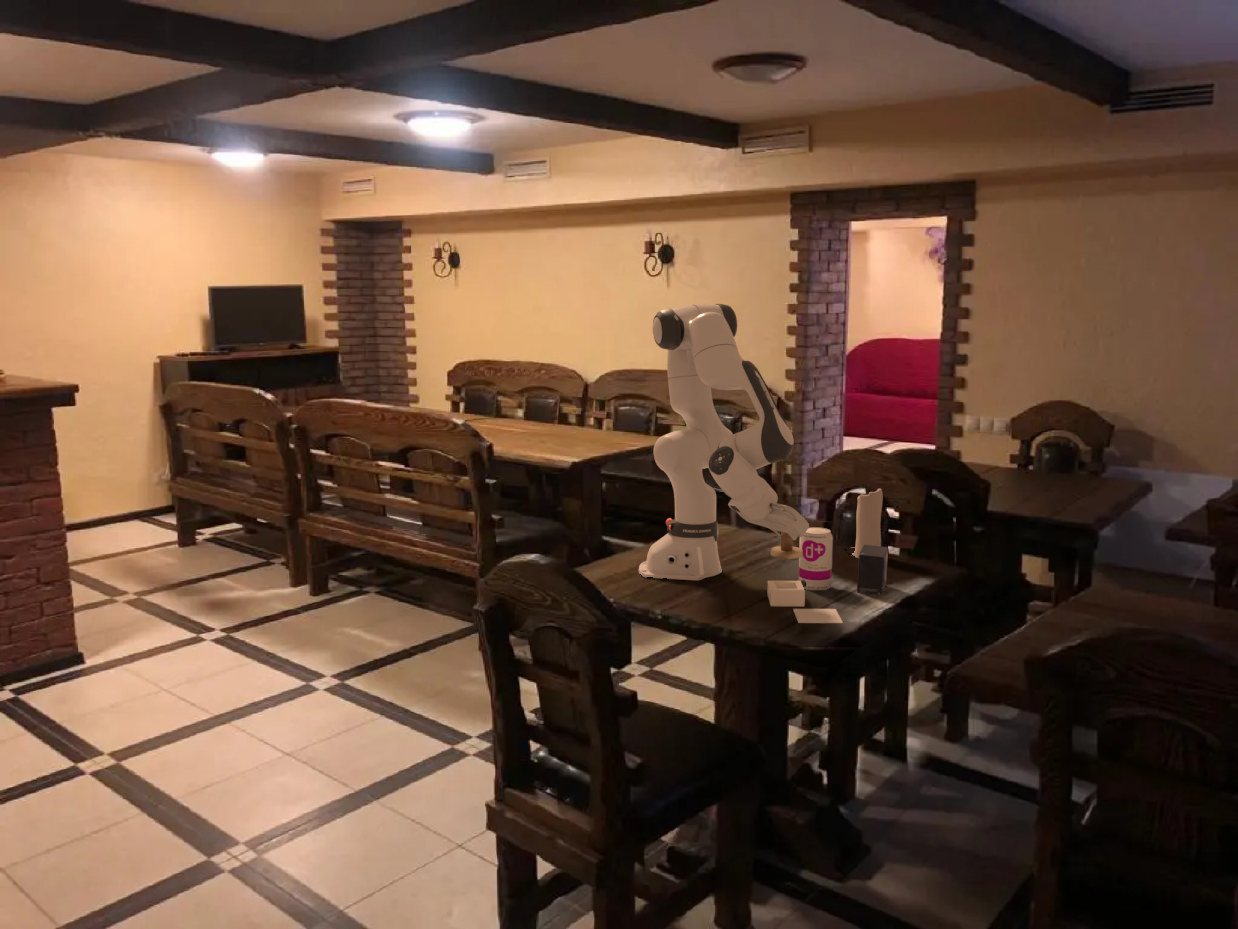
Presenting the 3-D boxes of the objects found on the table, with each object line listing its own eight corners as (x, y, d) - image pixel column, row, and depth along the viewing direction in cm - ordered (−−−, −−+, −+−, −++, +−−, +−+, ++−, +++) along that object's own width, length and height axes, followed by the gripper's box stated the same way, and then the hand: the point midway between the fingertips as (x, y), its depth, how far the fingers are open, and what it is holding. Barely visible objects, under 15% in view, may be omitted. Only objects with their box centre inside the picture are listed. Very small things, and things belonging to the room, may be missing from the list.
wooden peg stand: (772, 558, 235) (772, 523, 233) (769, 550, 242) (769, 516, 241) (804, 558, 234) (805, 523, 233) (800, 550, 242) (800, 516, 240)
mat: (798, 625, 225) (798, 622, 225) (792, 611, 235) (792, 608, 234) (842, 625, 224) (843, 622, 224) (835, 611, 234) (835, 608, 234)
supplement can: (825, 594, 247) (827, 535, 245) (794, 589, 251) (795, 532, 249) (835, 585, 254) (837, 528, 252) (804, 581, 258) (805, 525, 256)
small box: (883, 597, 244) (884, 556, 242) (856, 595, 247) (857, 554, 245) (887, 585, 254) (888, 546, 252) (861, 583, 256) (862, 544, 254)
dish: (770, 608, 237) (771, 590, 236) (767, 598, 245) (767, 580, 244) (804, 608, 236) (804, 590, 236) (800, 598, 244) (800, 580, 244)
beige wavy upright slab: (858, 547, 292) (860, 480, 289) (885, 558, 279) (888, 489, 276) (837, 549, 290) (839, 482, 286) (863, 561, 277) (865, 491, 273)
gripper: (795, 497, 223) (826, 534, 230) (738, 484, 240) (768, 518, 247) (780, 519, 222) (812, 555, 228) (723, 504, 239) (754, 538, 246)
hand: (788, 535), depth 238 cm, fingers closed on wooden peg stand, 3 cm apart
